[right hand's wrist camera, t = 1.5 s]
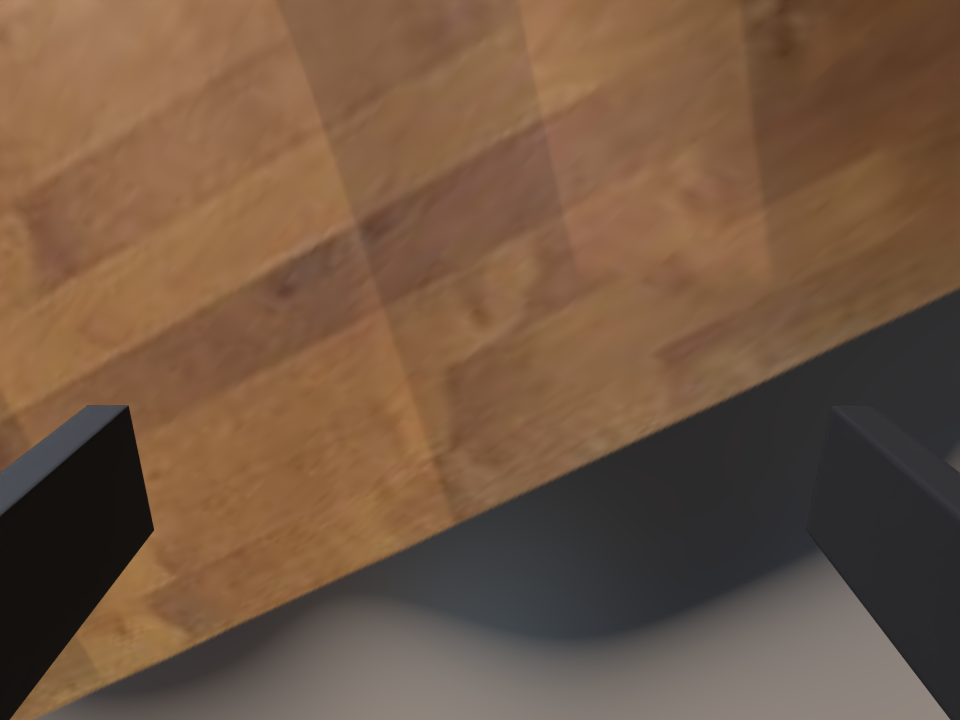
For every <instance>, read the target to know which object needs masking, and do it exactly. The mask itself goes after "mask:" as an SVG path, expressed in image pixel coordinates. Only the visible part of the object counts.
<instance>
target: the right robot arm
mask: <svg viewBox="0 0 960 720" xmlns="http://www.w3.org/2000/svg"><path fill="white" fill-rule="evenodd" d="M153 531H154V527H153V522H152V517H151V512H150V508H149V503H148V498H147V493H146V488H145V483H144V478H143V474H142V469H141V464H140V459H139V454H138V449H137V444H136V440H135V435H134V430H133V425H132V420H131V415H130V410H129V406H86V407H85V408H84V409H82V410H81V411H80V412H78V413H77V414H76V415H75V416H73V417H72V418H71V419H69V420H68V421H67V422H65V423H64V424H63V425H62V426H60V427H59V428H58V429H56V430H55V431H54V432H53V433H51V434H50V435H49V436H47V437H46V438H45V439H43V440H42V441H41V442H40V443H38V444H37V445H36V446H34V447H33V448H32V449H30V450H29V451H28V452H27V453H25V454H24V455H23V456H21V457H20V458H19V459H18V460H16V461H15V462H14V463H12V464H11V465H10V466H8V467H7V468H6V469H5V470H3V471H2V472H1V473H0V720H10V718H11V717H12V716H13V714H14V713H15V712H16V711H17V709H18V708H19V707H20V705H21V704H22V703H23V701H24V700H25V699H26V697H27V696H28V695H29V693H30V692H31V691H32V690H33V688H34V687H35V686H36V684H37V683H38V682H39V680H40V679H41V678H42V676H43V675H44V674H45V672H46V671H47V670H48V669H49V667H50V666H51V665H52V663H53V662H54V661H55V659H56V658H57V657H58V655H59V654H60V653H61V652H62V650H63V649H64V648H65V646H66V645H67V644H68V642H69V641H70V640H71V638H72V637H73V636H74V634H75V633H76V632H77V631H78V629H79V628H80V627H81V625H82V624H83V623H84V621H85V620H86V619H87V617H88V616H89V615H90V613H91V612H92V611H93V610H94V608H95V607H96V606H97V604H98V603H99V602H100V600H101V599H102V598H103V596H104V595H105V594H106V592H107V591H108V590H109V589H110V587H111V586H112V585H113V583H114V582H115V581H116V579H117V578H118V577H119V575H120V574H121V573H122V572H123V570H124V569H125V568H126V566H127V565H128V564H129V562H130V561H131V560H132V558H133V557H134V556H135V554H136V553H137V552H138V551H139V549H140V548H141V547H142V545H143V544H144V543H145V541H146V540H147V539H148V537H149V536H150V535H151V533H152V532H153ZM806 531H807V532H808V533H809V535H810V536H811V537H812V539H813V540H814V541H815V543H816V544H817V545H818V547H819V548H820V549H821V551H822V552H823V553H824V554H825V556H826V557H827V558H828V560H829V561H830V562H831V564H832V565H833V566H834V568H835V569H836V570H837V572H838V573H839V574H840V575H841V577H842V578H843V579H844V581H845V582H846V583H847V585H848V586H849V587H850V589H851V590H852V591H853V592H854V594H855V595H856V596H857V598H858V599H859V600H860V602H861V603H862V604H863V606H864V607H865V608H866V609H867V611H868V612H869V613H870V615H871V616H872V617H873V619H874V620H875V621H876V623H877V624H878V625H879V627H880V628H881V629H882V631H883V632H884V633H885V634H886V636H887V637H888V638H889V640H890V641H891V642H892V644H893V645H894V646H895V647H896V649H897V650H898V652H899V653H900V654H901V655H902V657H903V658H904V659H905V661H906V662H907V663H908V665H909V666H910V667H911V669H912V670H913V671H914V672H915V674H916V675H917V676H918V678H919V679H920V680H921V682H922V683H923V684H924V686H925V687H926V688H927V690H928V691H929V692H930V693H931V695H932V696H933V697H934V699H935V700H936V701H937V703H938V704H939V705H940V707H941V708H942V709H943V710H944V712H945V713H946V714H947V716H948V717H949V718H950V720H960V473H959V472H958V471H957V470H955V469H954V468H953V467H952V466H950V465H949V464H948V463H946V462H945V461H944V460H942V459H941V458H940V457H939V456H937V455H936V454H935V453H933V452H932V451H931V450H930V449H928V448H927V447H926V446H924V445H923V444H922V443H920V442H919V441H918V440H917V439H915V438H914V437H913V436H911V435H910V434H909V433H907V432H906V431H905V430H904V429H902V428H901V427H900V426H898V425H897V424H896V423H895V422H893V421H892V420H891V419H889V418H888V417H887V416H885V415H884V414H883V413H882V412H880V411H879V410H878V409H876V408H875V407H874V406H831V410H830V415H829V420H828V425H827V430H826V435H825V439H824V444H823V449H822V454H821V459H820V464H819V469H818V474H817V479H816V483H815V488H814V493H813V498H812V503H811V508H810V512H809V517H808V522H807V527H806Z"/></svg>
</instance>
